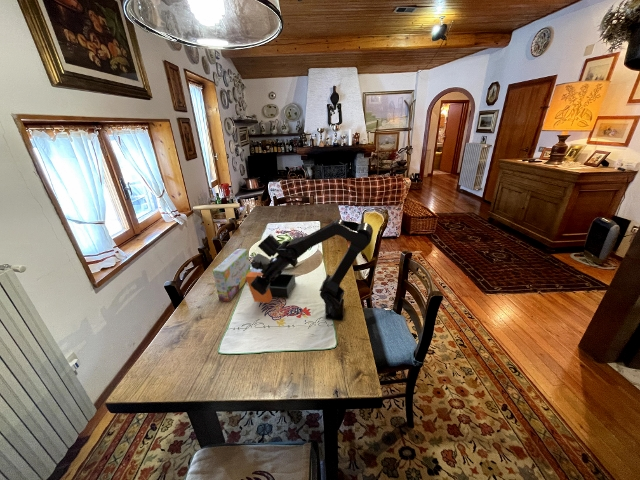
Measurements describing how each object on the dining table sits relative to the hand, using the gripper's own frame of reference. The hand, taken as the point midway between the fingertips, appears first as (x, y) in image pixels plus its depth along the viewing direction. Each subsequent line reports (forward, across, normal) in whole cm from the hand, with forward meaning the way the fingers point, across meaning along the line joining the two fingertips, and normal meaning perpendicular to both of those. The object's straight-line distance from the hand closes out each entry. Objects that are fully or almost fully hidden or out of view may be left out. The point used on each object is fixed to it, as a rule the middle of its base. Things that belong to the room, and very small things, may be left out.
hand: (256, 286), depth 101 cm
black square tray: (+3, -11, +10) cm, 15 cm away
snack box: (+18, -10, -5) cm, 21 cm away
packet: (+4, 0, +6) cm, 7 cm away
